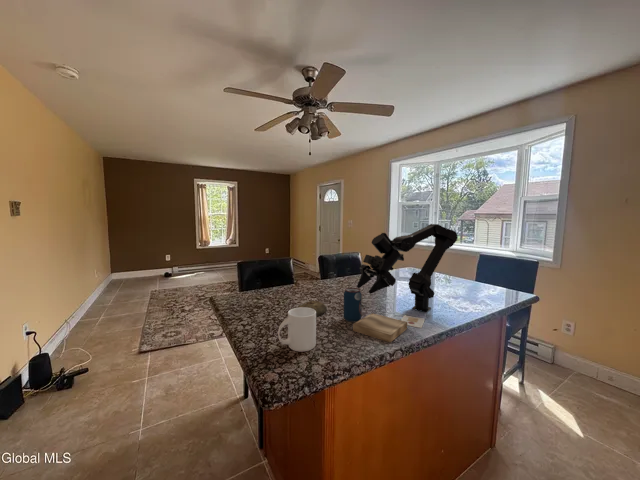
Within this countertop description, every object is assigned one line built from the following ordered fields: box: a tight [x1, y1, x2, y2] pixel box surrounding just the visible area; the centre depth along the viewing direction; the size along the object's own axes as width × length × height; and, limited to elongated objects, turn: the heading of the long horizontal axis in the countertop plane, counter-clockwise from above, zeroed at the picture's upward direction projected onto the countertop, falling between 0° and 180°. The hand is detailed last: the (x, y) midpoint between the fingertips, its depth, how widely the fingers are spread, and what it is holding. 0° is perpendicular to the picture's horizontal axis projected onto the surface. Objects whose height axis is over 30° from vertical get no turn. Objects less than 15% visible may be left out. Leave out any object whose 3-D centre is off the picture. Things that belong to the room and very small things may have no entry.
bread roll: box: [296, 300, 328, 318], centre depth 111 cm, size 13×12×5 cm
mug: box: [277, 307, 317, 353], centre depth 79 cm, size 9×12×11 cm
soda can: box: [343, 287, 363, 323], centre depth 102 cm, size 7×7×12 cm
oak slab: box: [352, 313, 408, 343], centre depth 92 cm, size 14×14×3 cm
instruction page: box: [400, 315, 426, 329], centre depth 100 cm, size 10×8×1 cm
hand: (363, 289), depth 103 cm, fingers open, 9 cm apart
